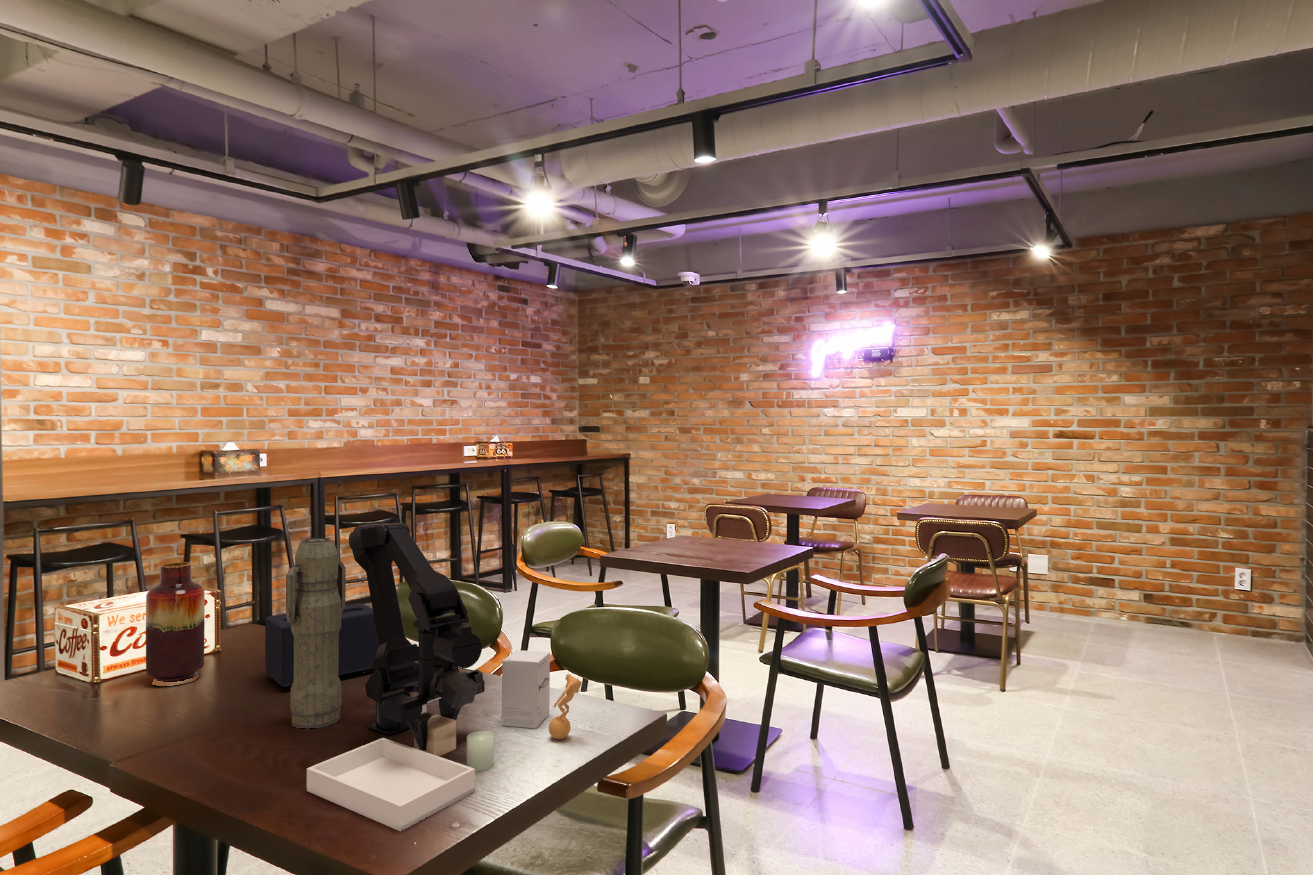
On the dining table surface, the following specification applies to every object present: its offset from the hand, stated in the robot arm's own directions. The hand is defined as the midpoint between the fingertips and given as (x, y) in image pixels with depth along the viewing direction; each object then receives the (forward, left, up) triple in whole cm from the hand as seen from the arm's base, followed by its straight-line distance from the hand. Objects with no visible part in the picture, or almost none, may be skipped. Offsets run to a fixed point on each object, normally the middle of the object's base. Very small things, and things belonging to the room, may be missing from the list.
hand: (435, 744), depth 131 cm
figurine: (+16, +16, -1) cm, 23 cm away
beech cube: (0, 0, -1) cm, 1 cm away
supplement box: (+4, +19, -1) cm, 19 cm away
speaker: (-53, +14, -1) cm, 55 cm away
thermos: (-30, -3, -1) cm, 30 cm away
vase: (-78, -6, -1) cm, 78 cm away
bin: (+6, -14, -1) cm, 15 cm away
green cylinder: (+11, 0, -1) cm, 11 cm away
